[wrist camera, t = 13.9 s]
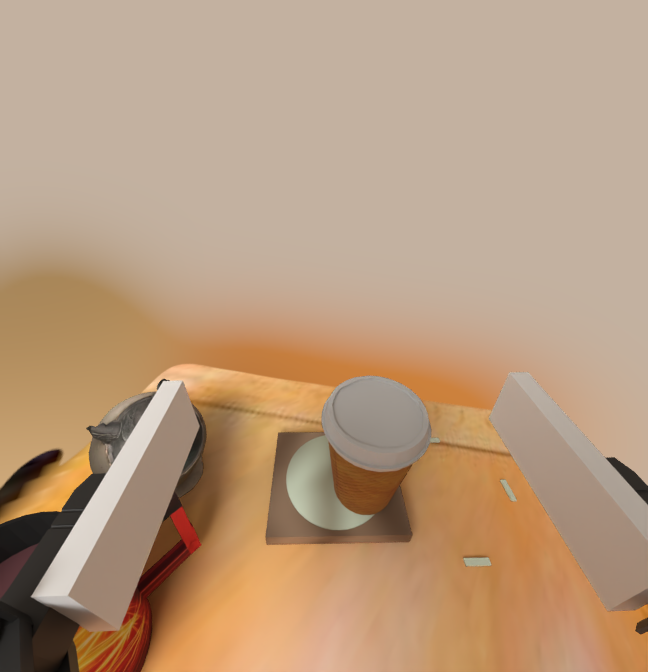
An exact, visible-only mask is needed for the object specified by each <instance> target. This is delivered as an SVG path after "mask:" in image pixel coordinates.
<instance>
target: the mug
mask: <svg viewBox="0 0 648 672" xmlns="http://www.w3.org/2000/svg"><path fill="white" fill-rule="evenodd" d="M59 513H61V512H57V511H54V512H39V513H34V514H29V515H25V516H22V517H19V518H16V519H13V520H10V521H7V522H5V523H2V524H0V599H1V598H2V596H3V595H4V594H5V592H6V591H7V590H8V588H9V587H10V585H11V584H12V582H13V581H14V579H15V578H16V576H17V575H18V573H19V572H20V570H21V569H22V567H23V566H24V564H25V563H26V561H27V560H28V558H29V557H30V555H31V554H32V553H33V551H34V550H35V548H36V547H37V545H38V544H39V542H40V541H41V539H42V538H43V536H44V535H45V533H46V532H47V530H48V529H50V528H51V524H52V523H53V521H54V520H55V518H56V517H57V515H58V514H59ZM169 516H170V517H171V519H172V521H173V523H174V525H175V527H176V529H177V531H178V533H179V534H180V536H181V538H182V540H181V541H179V542H178V543H177V544H176V545H175V546H174V547H173V548H172V549H171V550H170V551H169V552H167V553H166V554H165V555H164V556H163V557H162V558H161V559H160V560H159V561H158V562H157V563H156V564H154V565H153V566H152V567H151V568H150V569H149V570H148V571H147V572H146V573H145V574H144V575H142V576H141V577H140V579H139V582H138V584H137V587H136V589H135V592H134V594H133V597H132V599H131V602H130V604H129V607H128V610H127V612H126V615H125V617H124V620H123V622H122V625H121V627H120V630H119V631H95V632H90V631H88V630H86V629H84V628H83V627H81V626H79V628H78V630H77V632H76V634H75V636H74V638H73V641H74V643H75V646H76V651H77V658H78V665H79V672H140V671H141V669H142V667H143V665H144V662H145V658H146V655H147V652H148V649H149V644H150V639H151V633H152V613H151V608H150V603H149V601H148V599H147V597H148V596H149V595H150V594H151V593H152V592H153V591H154V590H155V589H156V588H157V587H158V586H159V585H160V584H161V583H162V582H163V581H164V580H165V579H166V578H167V577H168V576H169V575H170V574H171V573H172V572H173V571H174V570H175V569H176V568H177V567H178V566H179V565H180V564H181V563H183V562H184V561H185V560H186V559H187V558H188V557H189V556H190V555H191V554H192V553H193V552H194V551H195V550H197V549H198V548H199V547H200V546H201V543H200V541H199V539H198V536H197V534H196V532H195V530H194V528H193V526H192V524H191V523H190V521H189V520H188V518H187V516H186V513H185V511H184V509H183V507H182V505H181V502H180V500H179V498H178V496H177V494H176V493H175V491H174V493H173V495H172V498H171V500H170V503H169V505H168V508H167V510H166V513H165V516H164V518H163V521H164V520H165V519H167V518H168V517H169ZM163 521H162V522H163Z"/></svg>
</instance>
